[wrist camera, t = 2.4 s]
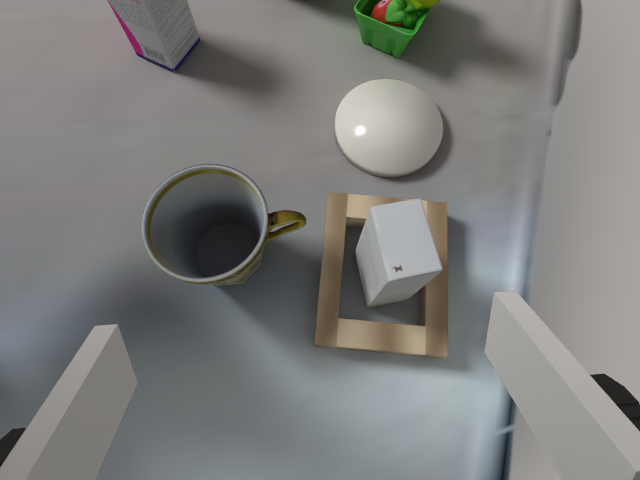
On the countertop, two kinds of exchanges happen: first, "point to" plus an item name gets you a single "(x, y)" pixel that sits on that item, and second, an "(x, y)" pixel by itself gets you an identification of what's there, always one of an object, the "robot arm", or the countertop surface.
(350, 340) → the block
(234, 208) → the ceramic cup
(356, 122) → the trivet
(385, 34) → the fruit basket
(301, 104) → the countertop surface
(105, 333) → the robot arm
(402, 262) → the skincare box
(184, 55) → the supplement box
